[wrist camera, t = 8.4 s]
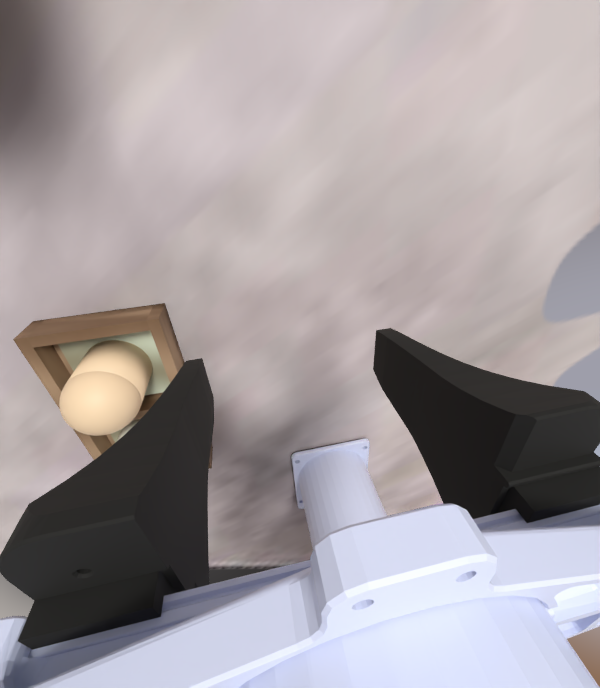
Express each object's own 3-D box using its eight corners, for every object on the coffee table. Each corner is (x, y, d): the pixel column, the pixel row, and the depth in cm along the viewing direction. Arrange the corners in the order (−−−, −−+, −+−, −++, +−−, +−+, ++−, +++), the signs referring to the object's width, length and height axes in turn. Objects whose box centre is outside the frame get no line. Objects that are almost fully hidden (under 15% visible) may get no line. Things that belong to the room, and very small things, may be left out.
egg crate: (212, 447, 29) (211, 467, 27) (120, 465, 28) (112, 488, 26) (164, 303, 21) (158, 318, 19) (32, 321, 20) (13, 339, 18)
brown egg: (160, 384, 23) (143, 443, 19) (99, 394, 23) (67, 457, 18) (140, 335, 21) (116, 389, 16) (73, 345, 20) (27, 404, 16)
